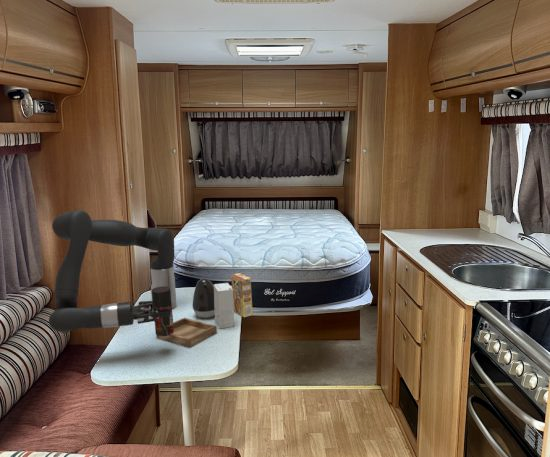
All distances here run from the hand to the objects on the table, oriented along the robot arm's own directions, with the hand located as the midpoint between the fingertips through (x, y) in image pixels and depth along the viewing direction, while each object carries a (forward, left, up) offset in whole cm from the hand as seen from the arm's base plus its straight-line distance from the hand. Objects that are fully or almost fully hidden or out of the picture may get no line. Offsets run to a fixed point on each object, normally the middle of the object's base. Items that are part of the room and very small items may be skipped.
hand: (170, 308), depth 167 cm
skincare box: (0, +26, -15) cm, 30 cm away
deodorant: (-2, -2, -8) cm, 9 cm away
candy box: (-1, +38, -15) cm, 41 cm away
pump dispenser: (-12, +29, -15) cm, 34 cm away
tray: (-5, +11, -15) cm, 19 cm away
